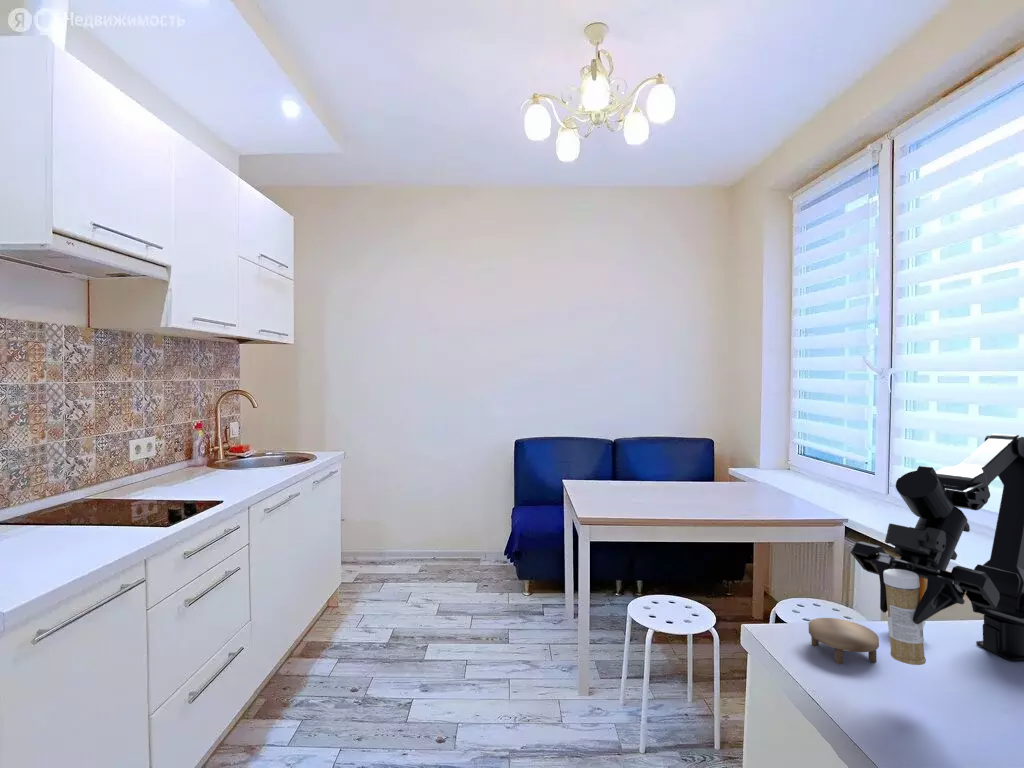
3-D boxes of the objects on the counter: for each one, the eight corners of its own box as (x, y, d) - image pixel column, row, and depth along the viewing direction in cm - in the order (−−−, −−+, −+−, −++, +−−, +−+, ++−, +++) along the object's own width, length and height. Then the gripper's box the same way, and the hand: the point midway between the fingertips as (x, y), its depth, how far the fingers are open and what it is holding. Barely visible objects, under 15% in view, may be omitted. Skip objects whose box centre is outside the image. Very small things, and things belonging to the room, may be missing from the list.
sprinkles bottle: (897, 650, 84) (890, 566, 85) (931, 661, 80) (923, 572, 81) (884, 658, 82) (877, 571, 83) (919, 669, 78) (911, 578, 79)
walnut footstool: (849, 636, 102) (848, 616, 102) (894, 666, 91) (894, 643, 91) (796, 639, 101) (795, 619, 101) (835, 670, 90) (835, 646, 90)
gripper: (855, 495, 92) (816, 568, 87) (987, 518, 75) (948, 610, 70) (883, 533, 95) (847, 605, 90) (1015, 563, 78) (980, 654, 74)
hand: (898, 616), depth 81 cm, fingers closed on sprinkles bottle, 4 cm apart
